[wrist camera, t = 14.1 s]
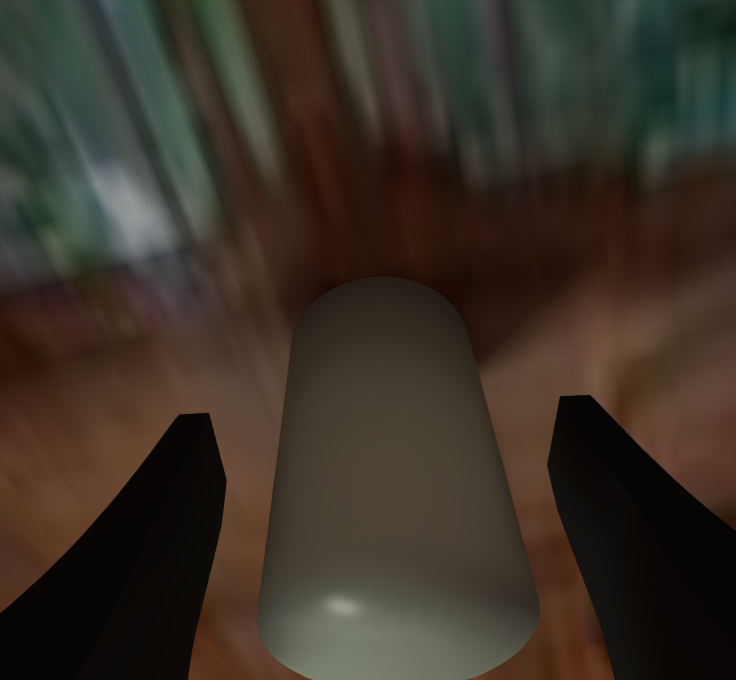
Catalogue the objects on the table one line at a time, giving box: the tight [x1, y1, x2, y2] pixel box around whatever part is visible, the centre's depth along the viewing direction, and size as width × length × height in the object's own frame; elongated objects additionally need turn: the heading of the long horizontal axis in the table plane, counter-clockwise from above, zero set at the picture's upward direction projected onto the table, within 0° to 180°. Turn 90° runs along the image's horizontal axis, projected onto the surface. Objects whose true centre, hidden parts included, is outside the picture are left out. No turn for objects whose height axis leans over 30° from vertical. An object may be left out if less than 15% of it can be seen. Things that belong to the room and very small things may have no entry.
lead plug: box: [257, 277, 540, 680], centre depth 13 cm, size 4×4×7 cm
